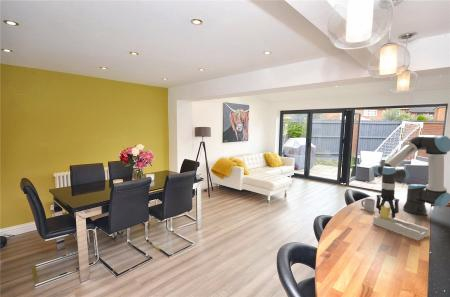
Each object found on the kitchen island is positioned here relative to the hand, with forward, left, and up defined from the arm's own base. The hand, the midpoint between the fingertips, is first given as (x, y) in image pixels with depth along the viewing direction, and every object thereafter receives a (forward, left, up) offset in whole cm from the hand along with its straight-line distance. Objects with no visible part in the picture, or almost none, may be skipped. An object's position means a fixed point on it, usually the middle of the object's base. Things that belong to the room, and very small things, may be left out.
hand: (386, 220), depth 160 cm
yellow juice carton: (0, -1, -2) cm, 2 cm away
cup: (-18, -24, -3) cm, 30 cm away
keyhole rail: (0, +8, -3) cm, 9 cm away
